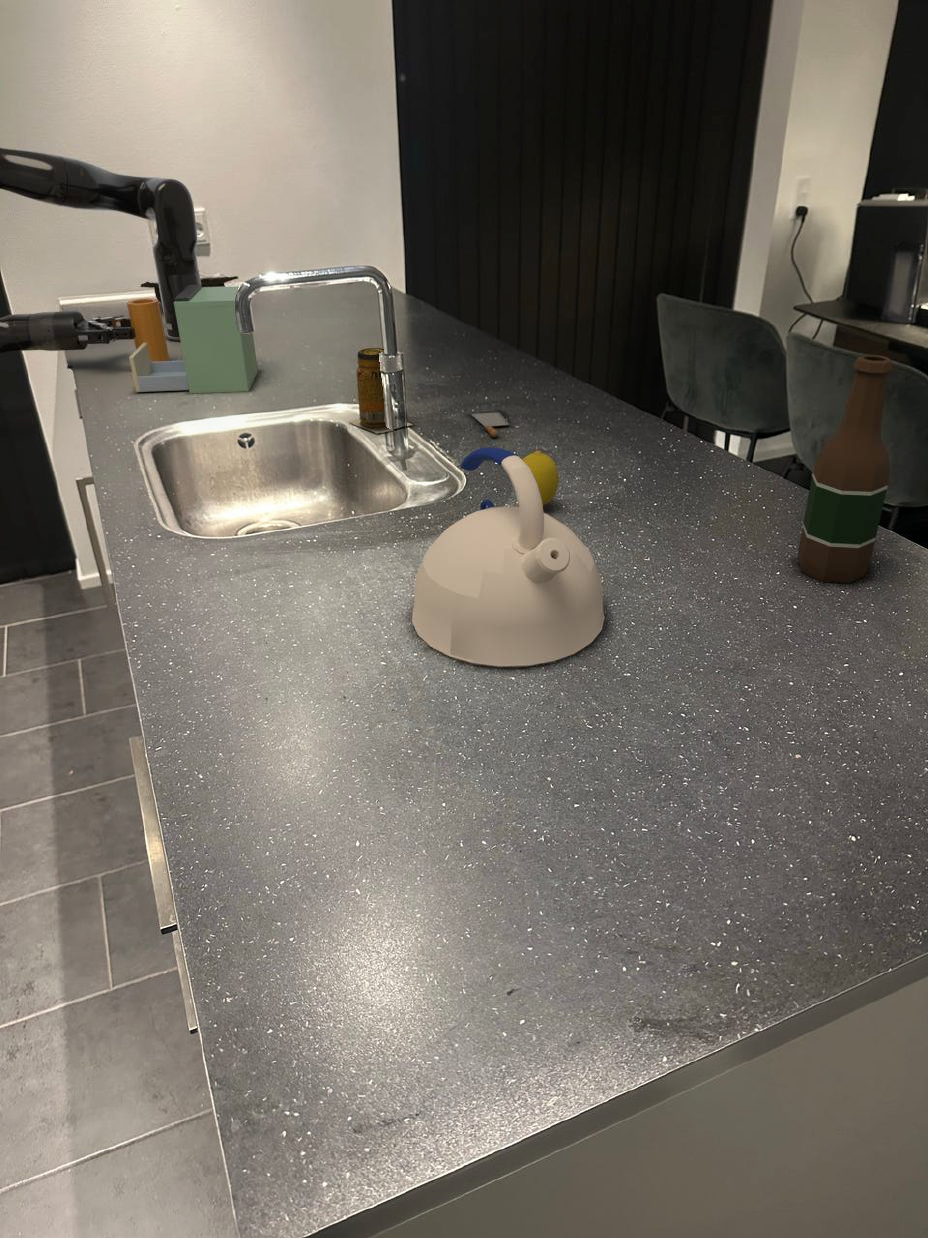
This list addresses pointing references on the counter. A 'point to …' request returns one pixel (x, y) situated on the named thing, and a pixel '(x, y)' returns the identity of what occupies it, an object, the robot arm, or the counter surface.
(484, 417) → the cleaver
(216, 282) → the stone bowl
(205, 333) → the green open box
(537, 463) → the lemon
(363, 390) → the condiment
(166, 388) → the beige drawer
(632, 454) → the counter surface
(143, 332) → the jar
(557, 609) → the kettle
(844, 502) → the beer bottle
